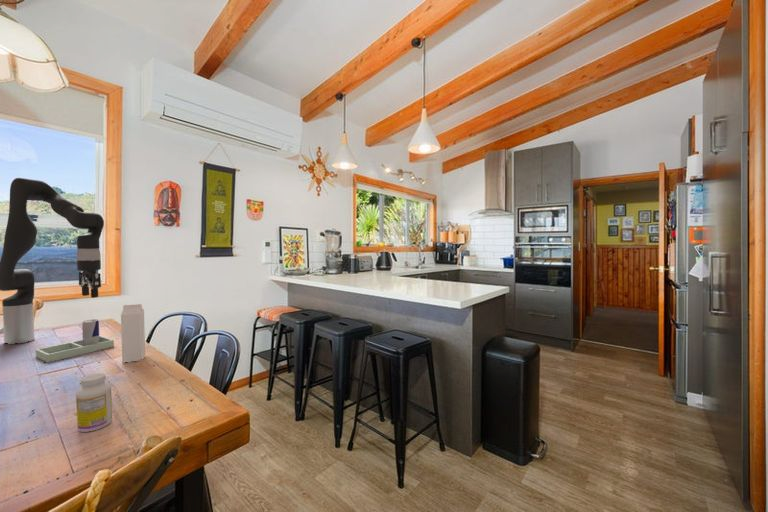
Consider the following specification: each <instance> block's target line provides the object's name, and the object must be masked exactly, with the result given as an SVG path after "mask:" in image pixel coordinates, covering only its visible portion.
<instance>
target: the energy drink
mask: <svg viewBox="0 0 768 512" xmlns="http://www.w3.org/2000/svg"><path fill="white" fill-rule="evenodd" d="M81 323H82V324H81V326H82V328H81V329H82V331H81V332H82V340H83V346H87V345H92V344H96V343H100V339H99V336H100V321H99V319H87V320H83V321H82V322H81Z"/></svg>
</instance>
